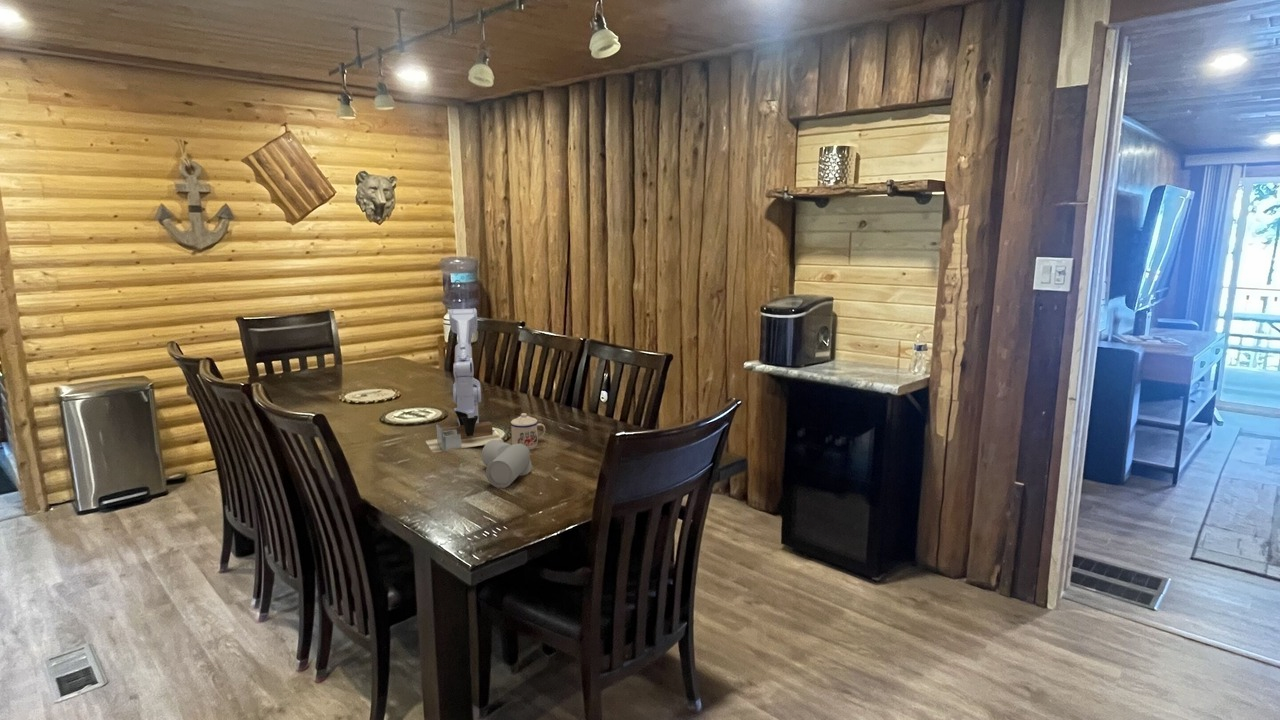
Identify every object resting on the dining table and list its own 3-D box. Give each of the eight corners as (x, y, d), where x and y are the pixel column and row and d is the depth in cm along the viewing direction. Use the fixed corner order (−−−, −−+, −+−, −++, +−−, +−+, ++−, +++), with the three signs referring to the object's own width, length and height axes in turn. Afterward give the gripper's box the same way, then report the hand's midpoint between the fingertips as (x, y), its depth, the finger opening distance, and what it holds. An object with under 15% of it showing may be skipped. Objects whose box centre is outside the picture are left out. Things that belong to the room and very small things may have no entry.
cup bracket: (437, 444, 236) (436, 424, 235) (456, 441, 239) (455, 421, 238) (442, 451, 229) (441, 430, 228) (461, 448, 232) (460, 428, 231)
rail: (441, 439, 242) (441, 428, 241) (490, 432, 249) (489, 421, 248) (443, 442, 239) (443, 430, 238) (492, 434, 246) (492, 424, 245)
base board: (425, 443, 241) (424, 440, 240) (493, 433, 251) (493, 430, 251) (433, 455, 228) (432, 452, 228) (504, 444, 239) (504, 441, 239)
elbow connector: (550, 470, 211) (508, 456, 224) (544, 440, 207) (501, 427, 220) (506, 500, 199) (464, 483, 212) (498, 468, 195) (456, 453, 208)
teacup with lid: (517, 452, 231) (515, 419, 228) (507, 445, 238) (506, 412, 236) (550, 446, 236) (549, 413, 234) (540, 439, 244) (539, 407, 242)
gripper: (448, 391, 245) (451, 428, 248) (458, 401, 233) (460, 440, 235) (468, 389, 248) (470, 426, 251) (479, 398, 236) (481, 437, 239)
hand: (467, 432), depth 244 cm, fingers open, 7 cm apart
